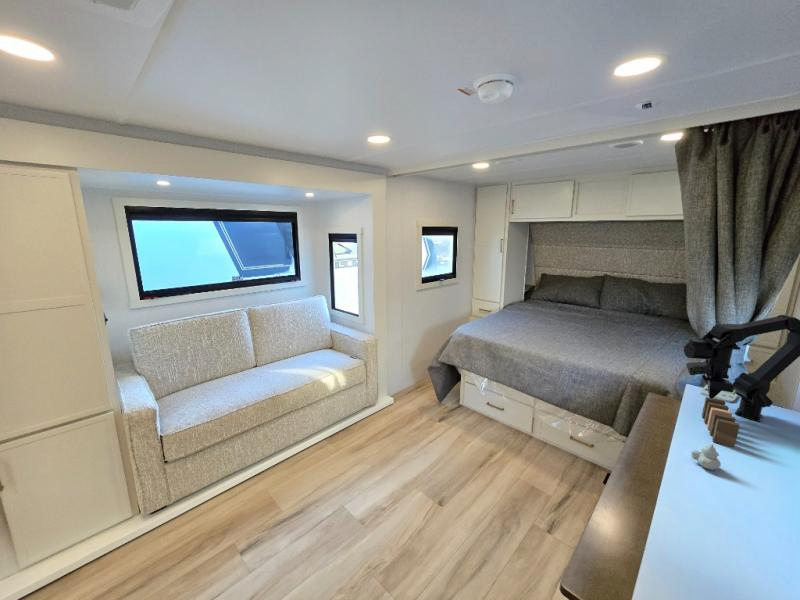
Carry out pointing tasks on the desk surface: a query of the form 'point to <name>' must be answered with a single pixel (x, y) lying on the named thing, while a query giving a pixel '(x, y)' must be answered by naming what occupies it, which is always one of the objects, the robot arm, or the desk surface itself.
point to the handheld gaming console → (721, 395)
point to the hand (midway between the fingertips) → (710, 397)
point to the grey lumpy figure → (707, 457)
